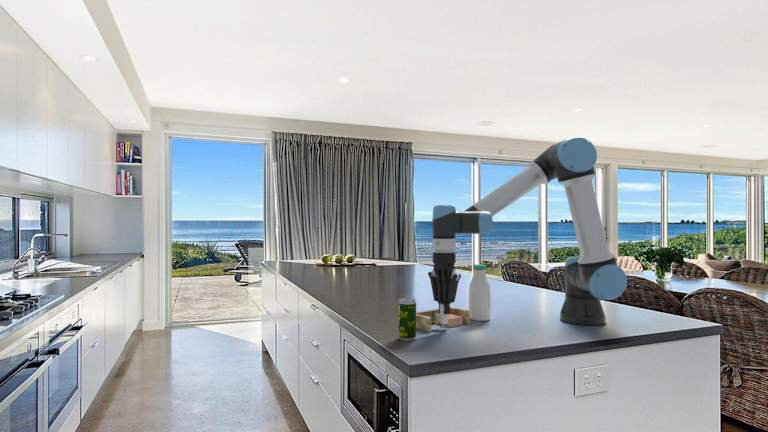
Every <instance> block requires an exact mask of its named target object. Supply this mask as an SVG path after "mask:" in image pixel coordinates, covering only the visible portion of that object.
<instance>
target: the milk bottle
mask: <svg viewBox="0 0 768 432" xmlns="http://www.w3.org/2000/svg"><path fill="white" fill-rule="evenodd" d="M472 268H473V269H472V270H473V274H472V277H471V280H470V283H469V289H468V310H469V311H470V321H477V322H488V321H490V320H491V287H490V283H489V281H488V278H487V274H486V271H487V264H479V263H478V264H476V263H475V264H473V266H472Z"/></svg>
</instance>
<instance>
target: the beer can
mask: <svg viewBox="0 0 768 432" xmlns="http://www.w3.org/2000/svg"><path fill="white" fill-rule="evenodd" d="M416 312H417V301H416V298H412V297H411V298H410V297H406V298H405V297H403V298H399V302H398V338H399V340H401V341H405V342H406V341H408V342H409V341H414V340H415V341H416V338H417V329H416Z"/></svg>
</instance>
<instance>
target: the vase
mask: <svg viewBox="0 0 768 432" xmlns="http://www.w3.org/2000/svg"><path fill="white" fill-rule="evenodd" d="M429 315H430V316H431V317H432V318H433V320H434V322H435V323H434V324H436V325H437V326H440V327H439V328H437V330H438V329H444V328H450V327H449V325H448V324H449V323H448V324H443V325H442V324H440V314H437V313H435V311H431V312H430V314H429Z"/></svg>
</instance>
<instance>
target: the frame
mask: <svg viewBox="0 0 768 432" xmlns="http://www.w3.org/2000/svg"><path fill="white" fill-rule="evenodd" d="M431 311H435V313H437V314H440V313H439V308H433V309H428V310H423V311H416V330H420V331H424V332H428V333H430V332H432V324H436V323H435V322H434V320H433V318H432V317H431V316H430V315H429V314H430V312H431ZM449 314H453V315H457V316H461V317H463V324H465V325H466V324H468V325H469V324H470V321H471V319H470V311H469V309H465V308H464V309H463V308H459V307H453V306H450V313H449Z"/></svg>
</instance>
